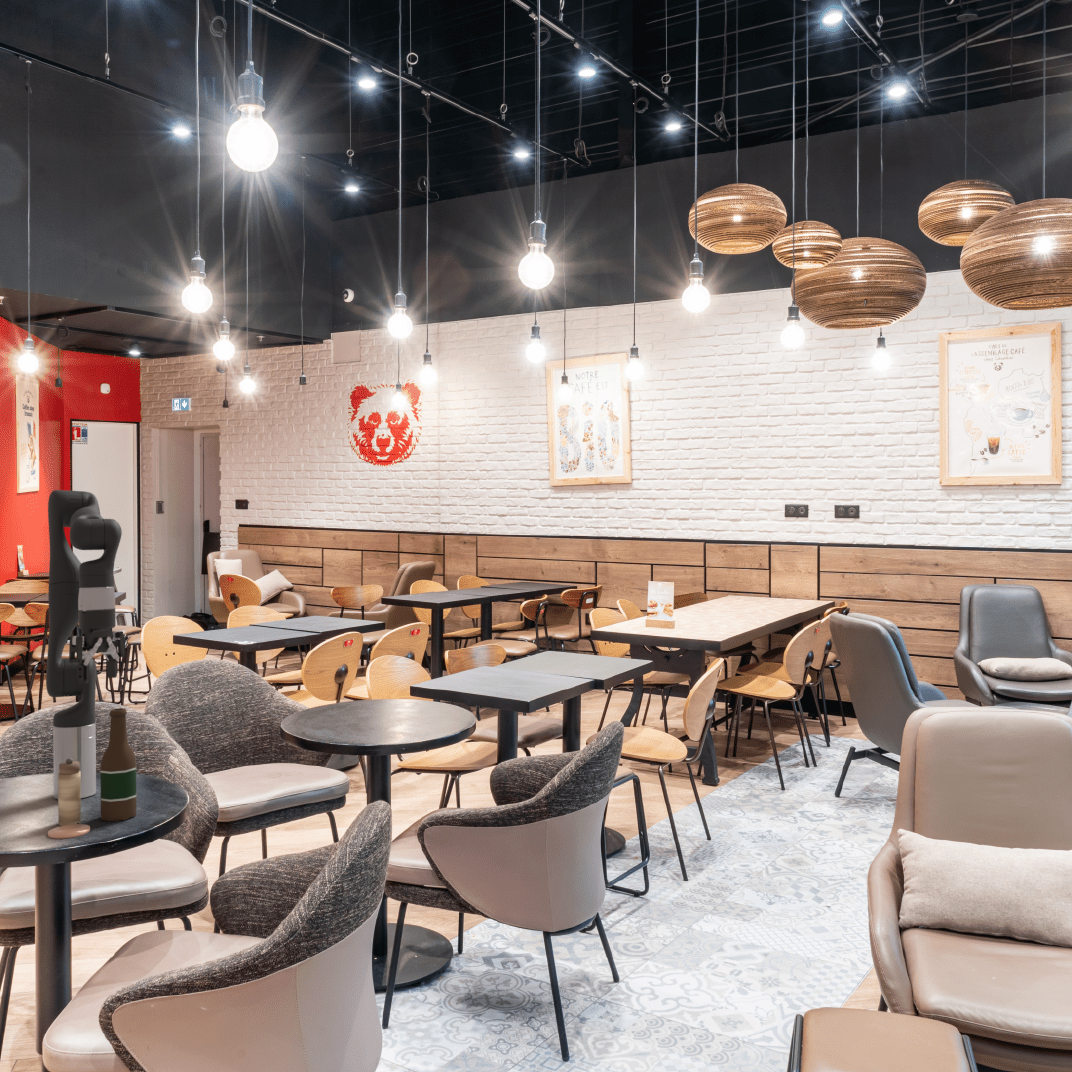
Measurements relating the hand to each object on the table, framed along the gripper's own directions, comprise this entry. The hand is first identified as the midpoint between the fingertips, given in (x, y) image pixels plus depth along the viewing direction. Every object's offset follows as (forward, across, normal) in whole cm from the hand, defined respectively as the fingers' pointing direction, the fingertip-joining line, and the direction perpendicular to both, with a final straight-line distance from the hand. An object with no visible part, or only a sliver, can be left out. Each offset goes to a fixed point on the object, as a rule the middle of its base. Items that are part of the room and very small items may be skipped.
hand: (98, 680), depth 212 cm
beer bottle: (+31, -1, +4) cm, 31 cm away
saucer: (+31, +11, +2) cm, 33 cm away
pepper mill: (+30, +6, -3) cm, 31 cm away
